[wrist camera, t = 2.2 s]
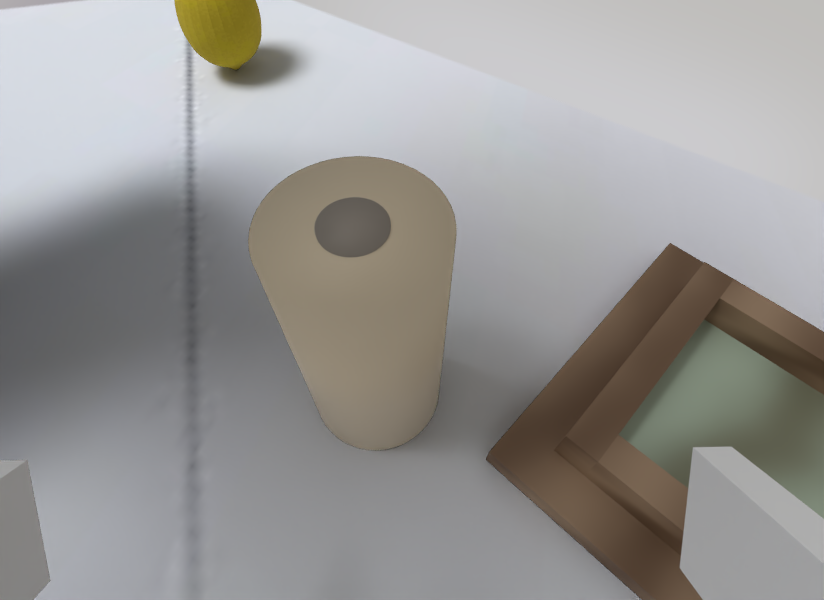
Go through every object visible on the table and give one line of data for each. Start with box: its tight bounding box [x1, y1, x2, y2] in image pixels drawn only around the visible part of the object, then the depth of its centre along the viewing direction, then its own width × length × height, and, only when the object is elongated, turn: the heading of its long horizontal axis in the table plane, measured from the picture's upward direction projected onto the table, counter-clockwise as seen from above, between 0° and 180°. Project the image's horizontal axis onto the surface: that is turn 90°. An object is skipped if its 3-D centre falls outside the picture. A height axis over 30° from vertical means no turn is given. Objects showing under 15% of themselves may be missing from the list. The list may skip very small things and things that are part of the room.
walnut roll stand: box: [486, 243, 824, 600], centre depth 22 cm, size 16×16×3 cm
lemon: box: [175, 0, 261, 70], centre depth 36 cm, size 6×6×8 cm
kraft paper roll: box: [248, 156, 456, 450], centre depth 20 cm, size 6×6×12 cm
